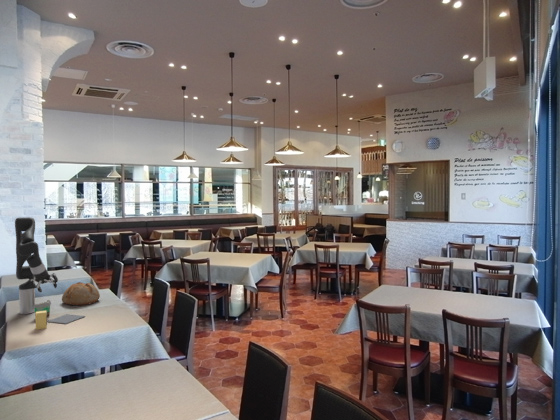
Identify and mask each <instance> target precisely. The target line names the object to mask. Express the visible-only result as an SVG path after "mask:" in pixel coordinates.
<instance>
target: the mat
mask: <svg viewBox="0 0 560 420" xmlns="http://www.w3.org/2000/svg"><path fill="white" fill-rule="evenodd" d="M85 317H86V315H78V314H71V313H70V314H69V313H68V314H67V313H66V314H63V315H60V316H58V317H55V318H52V319H49V320H48V319H47V323H50V322H52V323H51V324H59V323H61V325H68V324H70V323H72V322H76V321H77V320H78V321H79V320H81V319H84V318H85Z"/></svg>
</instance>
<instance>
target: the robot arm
mask: <svg viewBox="0 0 560 420" xmlns="http://www.w3.org/2000/svg"><path fill="white" fill-rule="evenodd" d="M14 228H15V238H16V239H15V240H16V241H15V254H16V255H15V258H16V265H15V267H16V269H15V276H16V279H17V280H27V281H25V282H23V283H21V284H19V286H18V294H19V295H18V296H19V298H18V302H19V303H18V304H19V314H20V315H28V314H32V313H35V309H34V304H36V296H35V294H36V291H35V290H36V289H37V291H38V292H39V293H42V291H43V290H42V288H41V285H44V284H46V283H50V284H52V285H53V287H54V289H57V286H58V284H57V283H58V281H59V279H58V277H57V274H56V273H55V272H53V273H51V274H49V272H48V270H47V268H46V265H45V264H44V262H43V260H42V258H41V256H40V252H39V250H40V248H39V245H38V243H37V242H36V241H35V233H36V232H35V231H36V221H35V218H34V217H30V216H29V217H17V218H15V220H14ZM26 262H27V264H28V265H24V264H25V263H26ZM36 283H37V284H36Z"/></svg>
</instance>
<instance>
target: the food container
mask: <svg viewBox="0 0 560 420" xmlns="http://www.w3.org/2000/svg"><path fill="white" fill-rule="evenodd" d="M51 305H52V301H51V300H49V299H47V300H46V301H44V302H41V303H37V304H36V303H35V304H34V309H35V312H34V314H35V313H36V312H38V311H46V310H47V318H49V317H50V314H51V311H50V310H51ZM48 316H49V317H48Z"/></svg>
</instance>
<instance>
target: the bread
mask: <svg viewBox="0 0 560 420" xmlns="http://www.w3.org/2000/svg"><path fill="white" fill-rule="evenodd" d="M100 296H101V295H100V292H99V290H98V288H97V287H96V286H95V285H93V283H89V282H88V283H87V282H86V283H83V282H80V281H79V282H76V283H72V284H71V285H70V286H68V288H67V289H65V291H64V292H63V294H62V296H61V301H62V303H63V304H64V305H72V306H85V305H91V304H94V303H96V302H97V301H99V300H100V298H101V297H100Z"/></svg>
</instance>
